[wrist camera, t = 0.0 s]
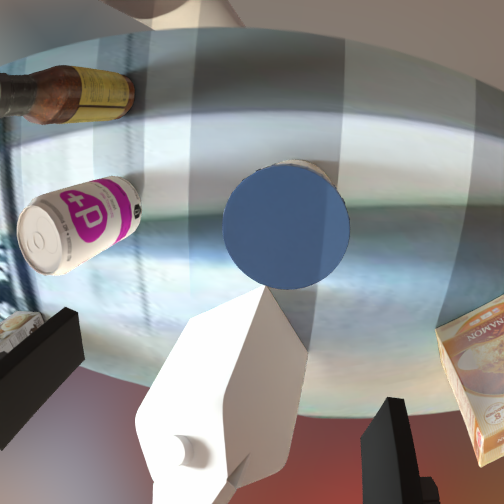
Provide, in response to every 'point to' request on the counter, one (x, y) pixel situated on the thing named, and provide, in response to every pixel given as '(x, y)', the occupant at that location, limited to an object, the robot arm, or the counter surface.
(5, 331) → the coffee box
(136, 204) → the supplement can
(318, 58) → the counter surface
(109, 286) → the counter surface
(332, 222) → the lid
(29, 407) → the robot arm
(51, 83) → the sauce bottle
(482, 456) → the coffeecake box
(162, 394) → the milk
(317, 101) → the counter surface
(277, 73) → the counter surface
